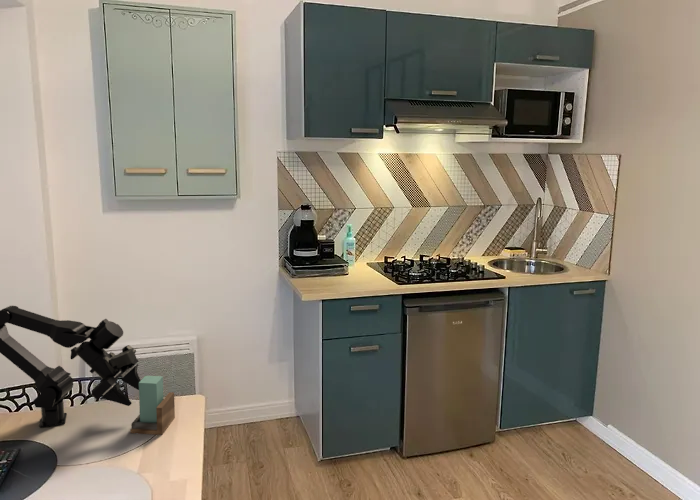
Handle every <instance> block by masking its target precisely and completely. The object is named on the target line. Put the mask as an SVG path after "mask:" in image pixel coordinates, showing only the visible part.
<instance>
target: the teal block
mask: <svg viewBox="0 0 700 500" xmlns="http://www.w3.org/2000/svg"><path fill="white" fill-rule="evenodd" d="M140 380H141V381H140V382H139V390H138V396H139V397H138V398H139V400H138V401H139V414H140V422H145V423H157V413H156V408H157V406H158V405H159V404H160V403H161V402H162V400H163V399H164V398H165V396H164V376H161V375H145V376H144V377H142V379H140Z"/></svg>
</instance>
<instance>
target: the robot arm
mask: <svg viewBox="0 0 700 500" xmlns="http://www.w3.org/2000/svg"><path fill="white" fill-rule="evenodd" d="M6 324H10V325H12V326H13V325H14V326H17V327H19V328H22V329H25V330H29V331H32V332H35V333H37V334H41V335H44V336H47V337H49V338H50V339H51V340H52V341H53V342H54V343H56V344H57V345H60V346H61V347H64V348H67V349H70V352H71V353H70V357H69V358H70V360H74V359H75V358H77V357H79V358H80V359H81V360H82V361H83V362H84V363H85V364H86V365H87V366H88V367H90V368H91V369H90V370H89V372H90V373H91V374H93V373H96V374H97V376H99V377H100V378H101V380H100V381H99V383H98V384H97V385H96V386H95V387H93V389H91V391H90V392H91V396H92V397H93V398H94V399H95V400H96V401H97V400H98V399H100V400H101V401H102V400H107V401H110V402H114V403H118V404H121V405H123V406H127V407H129V406H131V405H132V404H133V403H132V401H131V400H130V398H129V397H128V396H127V395H126V394H125V393H124V392H123V391H122V389H120V385H121V384H120V381H118V382H117V380H118V378H121V379H120V380H121V381H122V382H123V383H126V384H127V385H128V386H131V387H132V388H134V389H136V390H138V391H139V382H140V381H141V380H142V379H141V377H140V376H139V374H138V368H139V364H138V363H139V360H138V357H137V356H136V352H137V350H136V349H134V347H132V346H131V345H130V344H129V345H126V346H124V347H122V349H121V351H120V352H119V353H117V354H115V353H114V352H109V353H108V351H106V350H108V349H110V348H111V347H112V346H113V345H114V344H115V343H116V342H118V340H120V339H121V338H122V337H123V336H124V330H123V327H121V326H120V324H118V323H116V322H114V321H111V320H110V321H109V320H108V319H107V318H104V319H102V320H101V321H100V322H99V324H98V325H97V326H96V327H95V326H90V325H86V324H85V323H83V322H81V321H75V320H66V319H65V320H63V319H62V320H58V319H54V318H50V317H47V316H45V315H41V314H39V313H35V312H33V311H32V312H31V311H28V310H26V309H23V308H19V306H16V305H9V306H6V307H4V308H2V309H0V354H1V355H2V356H4V357H5V358H6V359H7V360H8V361H10V362H11V363H12V364H13V365H15V366H16V367H17V368H18V369H20V370H21V372H23V373H24V374H25V375H26V376H28V377H29V378H31V379H32V380H33V381H34V384H35V388H36V390H37V391H38V392H39V395H37V396H36V397H35V398H34V399H33V400H32V401H33V402H32V403H33V405H34V407H35V408H37V409H38V408H40V411H41V412H40V413H41V417H40V422H39V425H38V426H39V428H47V427H54V426H61V425H65V424H66V420H67V415H68V414H67V413H68V412H65V407H64V398H66V397H67V396H68V395H69V392H70V391H71V390H72V389H73V388H74V387H73V386H74V379H73V377H72V376H71V373H70V372H67V371H66V370H65V369H64V368H63V367H62V366H61V365H58V366H56V367H54V368H53V367H50V366H48V365H46V363H44V362H43V360H41V359H39V358H38V357H37V356H36V355H34V354H33V353H32V352H31V351H29V350H28V349H27V348H26V347H25V346H23V345H22V344H21V343H20V342H19V341H18V340H16V339H15V338H14V337H12V336H11V335H10V334H9V331H8V330H9V329H8V327H7V325H6ZM78 344H80V345H78ZM77 345H78V346H77Z"/></svg>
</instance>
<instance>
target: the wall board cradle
mask: <svg viewBox="0 0 700 500" xmlns="http://www.w3.org/2000/svg"><path fill="white" fill-rule="evenodd" d="M175 405H176V404H175V392H171V391H170V392H168V393H167V394H166V395H165V396H164V399H163V400H162V402H161V403H160V404H159V405H158V406H157V408H156V413H157V423H145V422H140V413H139V414H138V415H137V417H135V419H134V420H133V421H132V422H131V424H130V425H131V429H130V434H135V433H138V434H140V435H157V436H158V435H163V434H164V433H165V432H166V431H167V429H168V428H169V426H170V425H171V424H172V422H173V421H174V420H175V419H176V414H175V411H176V409H175Z"/></svg>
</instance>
